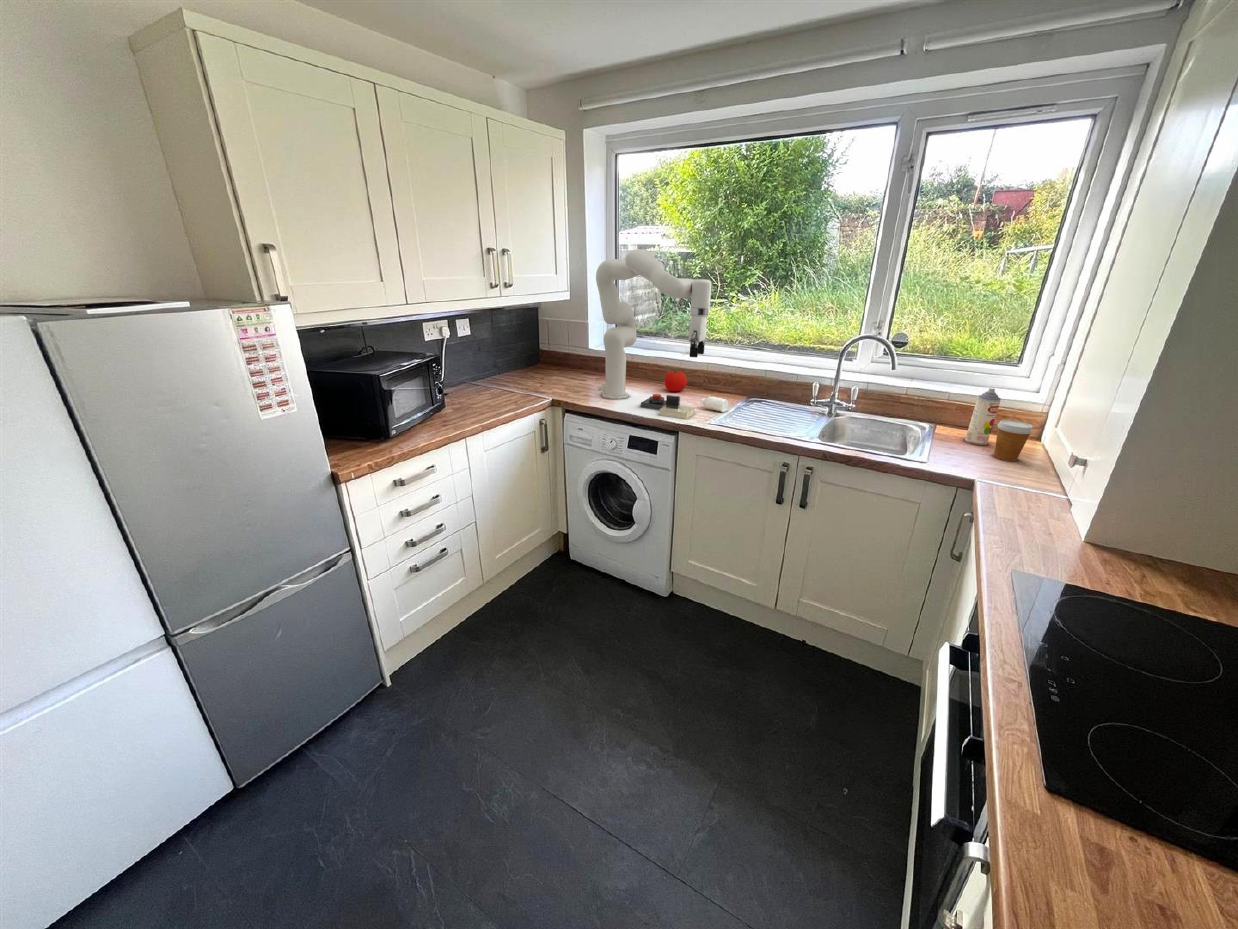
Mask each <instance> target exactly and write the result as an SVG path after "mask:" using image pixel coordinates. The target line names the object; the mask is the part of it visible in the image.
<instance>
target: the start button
mask: <svg viewBox="0 0 1238 929" xmlns="http://www.w3.org/2000/svg"><path fill="white" fill-rule="evenodd" d="M652 396H653V399H661V397H662V395H661V394H660V393H653V394H652Z"/></svg>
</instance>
